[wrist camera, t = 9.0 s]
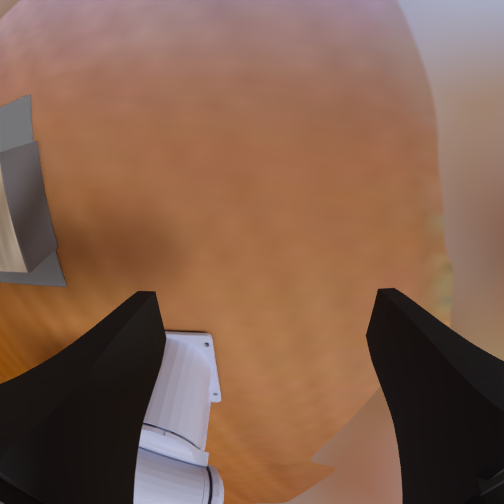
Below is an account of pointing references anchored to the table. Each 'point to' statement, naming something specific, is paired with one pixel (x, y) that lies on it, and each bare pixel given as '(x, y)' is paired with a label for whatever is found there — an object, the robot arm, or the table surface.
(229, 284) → the table surface
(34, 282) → the mat
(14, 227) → the birch block
